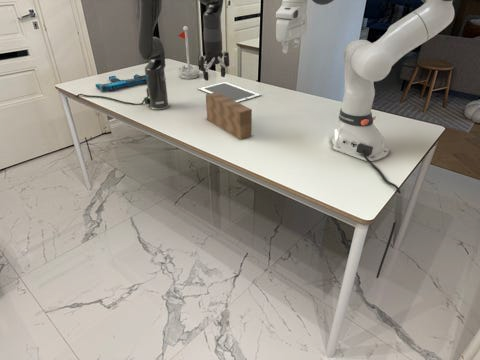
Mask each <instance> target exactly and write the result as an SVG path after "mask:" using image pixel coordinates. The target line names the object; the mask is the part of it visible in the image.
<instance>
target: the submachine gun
mask: <svg viewBox="0 0 480 360" xmlns="http://www.w3.org/2000/svg"><path fill="white" fill-rule="evenodd" d="M108 80H109V81H110V82H108V83H94V84H95V88H97V89H98V90H99V91H101V92H104V91H111V90H112V91H116V90H115V89H119V88H124V87H128V86H133V85H138V84H143V83H147V81H146V75H145V74H143V75H140V74H134V75H133V78H128V79H120V78H117V76H116V75H110V76H108Z"/></svg>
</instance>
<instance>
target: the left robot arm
mask: <svg viewBox="0 0 480 360" xmlns="http://www.w3.org/2000/svg"><path fill="white" fill-rule="evenodd" d="M198 1H199V2H200V3H201V4H203V5H205V6H207V9H206V11H205V12H204V13H203V15H202V17H203V18H202V19H203V45H204V46H203V47H204V55H198V57H197V59H198V67H199V71H201V72H202V76H203V80H204V81H209V69H210V68H212V66H215V65H219V66H220V76H221V77H222V78H225V77H226V73H227V71H226V68H227V67H230V55H229V54H230V53H229V51H223V32H222V18H221V16H222V12H223V5H224V0H198ZM162 6H163V0H139V28H138V37H137V52H138V55H139V56H140V58H141V59H142V60H144V61H148V63H147V65H146V66H145V67H144V75H146V81H147V82H146V89H145V91H146V96H145V97H143V100H141V103H133V102H128V101H122V100H120V99H116V98H112V97H108V96H104V95H103V96H102V95H91V94H90V95H88V94H83V93H78V94H77V95H76V97H79V96H83V97H88V98H100V99H101V98H103V99H108V100H112V101H114V102H120V103H123V104H127V105H133V106H142V105H148V107H149V108H150V109H151V110H155V111H156V110H157V111H158V110H165V109H167V108H169V107H170V105H169V97H168V88H167V81H166V73H165V68H166V54H165V47H164V43H163V42H162V40H161V39H160V38H159V37H157V36H154V32H155V28H156V25H157V23H158V21H159V18H160V15H161V13H162V8H163V7H162ZM84 139H85V142H86V147H87V150H88V153H89V157H90V160H91V161H93V157H92V153H91V149H90V145H89V141H88V139H87V137H84Z"/></svg>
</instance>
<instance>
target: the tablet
mask: <svg viewBox="0 0 480 360" xmlns="http://www.w3.org/2000/svg"><path fill="white" fill-rule="evenodd" d="M197 89H198V90H199V91H203V92H204V93H207V94H211V93H215V92H217V93H219V94H221V95H223V96H225V97H227V98H229V99H231V100H233V101H235V102H237V103H240V102H241V103H242V102H245V101H248V100H251V99H254V98H258V97H262V94H260V93H258V92H255V91H252V90H249V89H247V88H244V87H241V86H238V85H235V84H233V83H231V82H228V81H223V82H219V83H214V84H210V85H207V86H203V87H199V88H197Z"/></svg>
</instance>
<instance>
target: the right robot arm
mask: <svg viewBox="0 0 480 360" xmlns="http://www.w3.org/2000/svg"><path fill="white" fill-rule="evenodd" d="M311 1H312V2H313V3H315V4H316V5H321V6H325V5H328V4H330V3H331V4H332V2H334V1H335V0H311ZM453 1H454V0H421V2H422V3H423V4H421V6H419V7H418V8H416V9H415V10H413V11H411V12H410V13H408V14H406V15H405V16H403V17H402V18H401V19H399V20H397V21H396V22H394V23H392V24H391V25H389V27H388V28H387V30H386V32H385V33H384V34H383V35H382V36H380V37H379V38H378V39H376V41H373V42H371V41H369V40H366V39H355V40H353V41H351V42H350V43H348V44H347V45H346V46H345V48H344V51H343V59H344V87H343V88H344V89H343V95H342V96H343V97H342V103H341V108H340V109H339V113H338V122H337V123H338V124H337V127H336V129H334V135H333V137H332V139H331V144H332V149H333V150H334V151H336V152H340V153H343V154H344V155H345V154H346V155H348V156H351V157H354V158H356V159H359V160H361V161H365V162H367V163H369V164H370V165H371V166H372V168H374V169H375V170H376V171H377V172H378V173H379V175H380V176H381V177H382V179H383V181H384V182H385V183H387V184H388V185H390V186H392V187H393V188H395V189H396V191H397V193H398V194H401V189H400V188H399V186H398V185H397V184H395V183H394V182H391V181H389V180H388V179H387V178H386V176H385V175H384V174H383V172H382V171H381V170H380V169H379V168H378V167H377V166H376V165H375V164H374V163H373V162H374V161H379V160H381V159H383V158H385V157H387V155H388V154H389V152H390V150H389V148H387V147H386V146H385V138H384V135H383V134H382V133H381V131H379V128H377V126H376V125H375V124H374V121H375V120H376V119H377V116H373V113H372V109H373V104H374V100H375V95H376V90H375V84H374V82H381V81H382V80H383V79H385V78H386V77H387V76H389V74H390V72H391V71H392V67H393V66H394V65H395V64H396V63H397V62H398V61H399V60H400V59H402V58H403V57H405V55H407V54H408V53H410V52H412V51H414V50H415V49H416V48H418V47H419V46H421V45H423V44H425V43H426V42H427V41H429V40H430V39H433V38H434V37H435V36H436V35H438V34H439V33H441V32H442V31H443V30H445V29H446V28H447V27H448V26H449V25H450V24H451V23H452V22H453V20H454V18H455V8H454V5H453ZM307 7H308V0H281V5H280V7H279V8H278V9H277V11H276V12H275V18H276V19H277V20H276V22H275V23H276V24H275V39H276V41H277V42H278V43H279V42H280V43H281V47H282V53H283V54H288V53H289V52H290V51H289V50H290V49H289V48H290V47H289V43H290V42H289V41H291V40H294V42H293V43H292V48H293V49H298V48H299V46H300V41H301V39H302V36H304V35H306V32H307V26H308V18H307V17H308V16H307ZM396 224H397V221H394V222H393V223H392V227H391V231H390V234H389V237H388V241H387V244H386V247H385V249H384V253H383V255H382V258H381V261H380V264H379V267H378V271H377V273H376V279H379V277H380V273H381V270H382V269H383V265H384V261H385V259H386V256H387V254H388V250H389V249H390V248H389V247H390V244H391V242H392V238H393V236H394V231H395V228H396Z"/></svg>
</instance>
